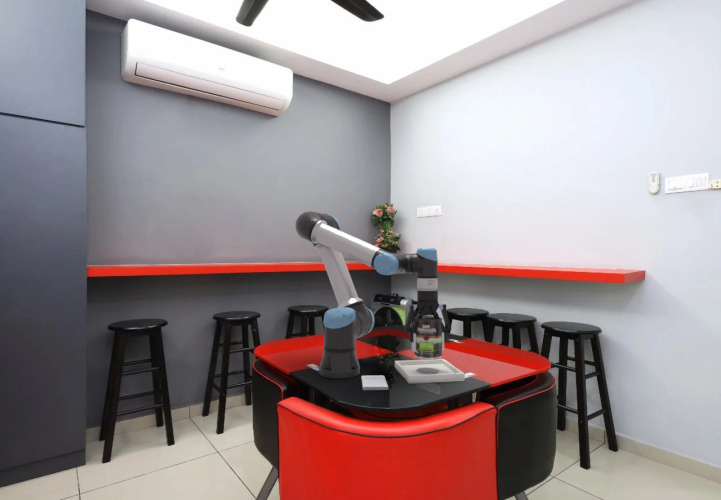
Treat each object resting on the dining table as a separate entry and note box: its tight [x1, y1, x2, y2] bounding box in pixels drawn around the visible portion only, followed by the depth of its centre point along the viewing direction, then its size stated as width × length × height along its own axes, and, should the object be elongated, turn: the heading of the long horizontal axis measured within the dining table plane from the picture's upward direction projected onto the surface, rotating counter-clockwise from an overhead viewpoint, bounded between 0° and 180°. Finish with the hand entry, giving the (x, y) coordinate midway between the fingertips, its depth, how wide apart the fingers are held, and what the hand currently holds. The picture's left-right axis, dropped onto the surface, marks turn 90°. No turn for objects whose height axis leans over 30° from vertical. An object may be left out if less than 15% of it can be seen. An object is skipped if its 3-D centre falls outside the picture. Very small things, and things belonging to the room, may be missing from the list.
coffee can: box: [413, 315, 443, 360], centre depth 145 cm, size 10×10×14 cm
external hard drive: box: [361, 375, 389, 391], centre depth 133 cm, size 2×8×12 cm
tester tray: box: [394, 358, 466, 384], centre depth 145 cm, size 20×20×2 cm
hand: (428, 350), depth 145 cm, fingers closed on coffee can, 10 cm apart
